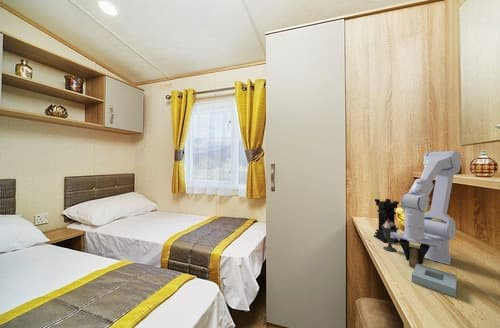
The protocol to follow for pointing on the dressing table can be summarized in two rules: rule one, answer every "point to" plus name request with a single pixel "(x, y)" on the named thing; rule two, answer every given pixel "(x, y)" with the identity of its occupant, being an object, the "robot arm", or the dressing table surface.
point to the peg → (414, 256)
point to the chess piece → (389, 211)
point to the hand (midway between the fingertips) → (414, 261)
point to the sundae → (387, 229)
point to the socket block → (435, 279)
